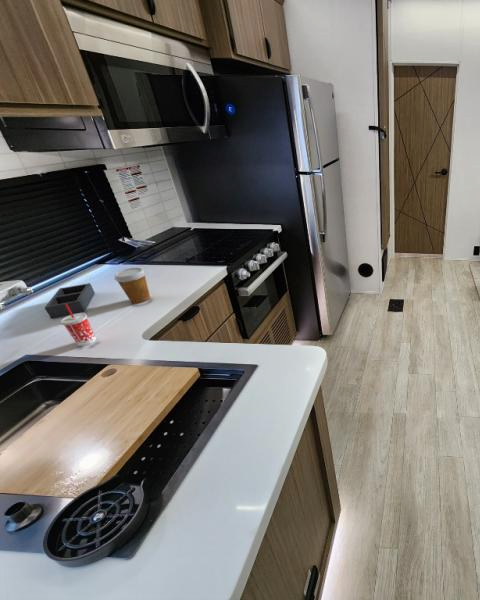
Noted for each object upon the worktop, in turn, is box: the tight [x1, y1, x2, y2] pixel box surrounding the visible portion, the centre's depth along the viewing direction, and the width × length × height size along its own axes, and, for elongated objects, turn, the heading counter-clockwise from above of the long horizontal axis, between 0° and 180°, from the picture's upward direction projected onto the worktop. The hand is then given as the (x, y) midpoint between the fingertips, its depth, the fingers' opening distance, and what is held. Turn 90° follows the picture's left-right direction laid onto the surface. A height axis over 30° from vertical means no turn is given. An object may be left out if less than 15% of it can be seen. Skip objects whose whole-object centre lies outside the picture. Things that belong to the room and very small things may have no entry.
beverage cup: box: [60, 303, 97, 347], centre depth 103 cm, size 6×6×14 cm
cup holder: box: [44, 282, 96, 320], centre depth 127 cm, size 10×18×5 cm, turn 30°
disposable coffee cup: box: [114, 267, 151, 304], centre depth 128 cm, size 10×10×12 cm
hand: (16, 298), depth 97 cm, fingers open, 8 cm apart
